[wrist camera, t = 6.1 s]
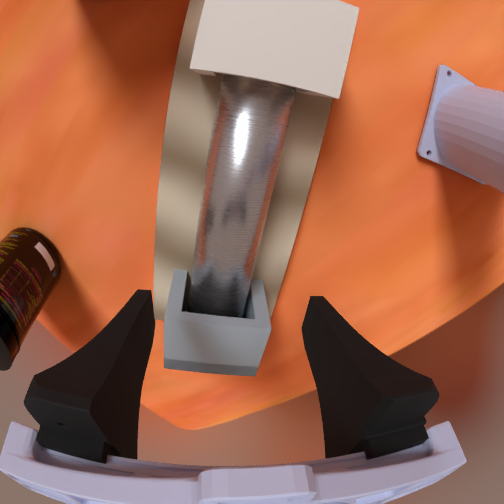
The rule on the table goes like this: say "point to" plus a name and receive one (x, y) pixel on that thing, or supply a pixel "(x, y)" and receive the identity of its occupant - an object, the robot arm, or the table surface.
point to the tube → (237, 191)
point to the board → (194, 165)
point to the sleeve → (277, 42)
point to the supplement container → (23, 286)
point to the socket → (215, 334)
